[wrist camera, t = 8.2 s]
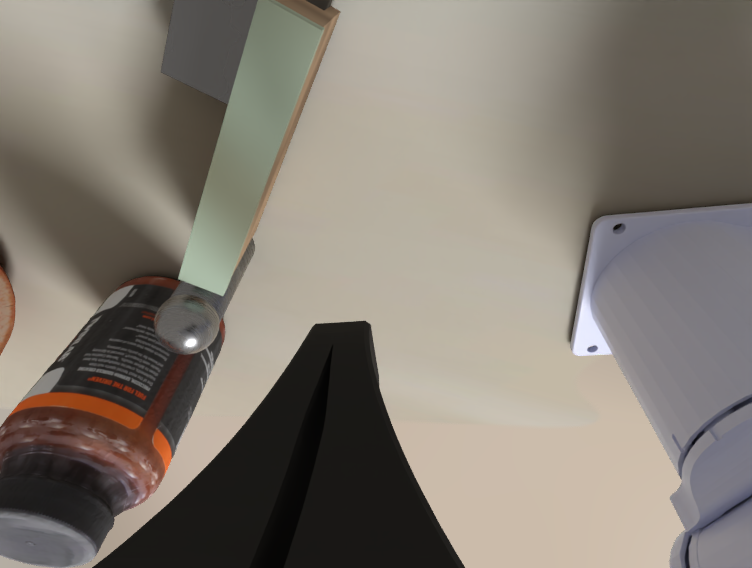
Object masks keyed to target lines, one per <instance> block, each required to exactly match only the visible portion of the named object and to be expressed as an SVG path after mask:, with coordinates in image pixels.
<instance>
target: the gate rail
mask: <svg viewBox="0 0 752 568" xmlns="http://www.w3.org/2000/svg"><path fill="white" fill-rule="evenodd" d="M331 2H332V0H258V2H257V5H256V9H255V12H254V16H253V19H252V23H251V26H250V30H249V33H248V37H247V40H246V44H245V47H244V51H243V54H242V58H241V61H240V65H239V68H238V71H237V75H236V78H235V82H234V85H233V89H232V92H231V96H230V99H229V103H228V106H227V110H226V113H225V117H224V120H223V124H222V127H221V131H220V134H219V138H218V141H217V145H216V148H215V152H214V155H213V159H212V162H211V166H210V169H209V172H208V176H207V179H206V183H205V186H204V190H203V193H202V197H201V200H200V204H199V207H198V211H197V214H196V218H195V221H194V225H193V228H192V232H191V235H190V239H189V242H188V246H187V249H186V253H185V256H184V260H183V263H182V266H181V270H180V273H179V277H178V279H179V280H182V281H185V282H187V283H190V284H192V285H195V286H198V287H200V288H203V289H205V290H208V291H211V292H213V293H216V294H218V295H221V296H224V294H225V292H226V290H227V288H228V285H229V282H230V280H231V277H232V275H233V273H234V271H235V269H236V268H237V266H238V264H239V262H240V260H241V258H242V256H243V254H244V252H245V250H246V248H247V247H248V245H249V243H250V241H251V239H252V237H253V235H254V233H255V231H256V229H257V227H258V224H259V221H260V219H261V216H262V214H263V211H264V209H265V206H266V203H267V201H268V198H269V196H270V193H271V190H272V188H273V185H274V183H275V180H276V177H277V175H278V172H279V170H280V167H281V164H282V162H283V159H284V157H285V154H286V152H287V149H288V146H289V144H290V141H291V139H292V136H293V133H294V131H295V128H296V126H297V123H298V120H299V118H300V115H301V113H302V110H303V107H304V105H305V102H306V100H307V97H308V95H309V92H310V89H311V87H312V84H313V82H314V79H315V76H316V74H317V71H318V69H319V66H320V63H321V61H322V58H323V56H324V53H325V50H326V48H327V45H328V43H329V40H330V38H331V35H332V32H333V30H334V27H335V25H336V22H337V19H338V17H339V14H340V11H339V10H337V9H335V8H333V7H332V6H331Z"/></svg>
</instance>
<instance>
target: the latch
mask: <svg viewBox="0 0 752 568" xmlns="http://www.w3.org/2000/svg"><path fill="white" fill-rule="evenodd" d="M257 2H258V0H174V4H173V10H172V15H171V20H170V26H169V31H168V36H167V42H166V47H165V52H164V58H163V63H162V68H161V73H164V74H166V75H168V76H170V77H172V78H174V79H176V80H178V81H180V82H182V83H184V84H186V85H188V86H190V87H192V88H195V89H197V90H199V91H201V92H203V93H205V94H207V95H209V96H211V97H213V98H215V99H217V100H219V101H221V102H223V103H226V104H228V103H229V99H230V96H231V92H232V89H233V85H234V82H235V78H236V75H237V71H238V68H239V65H240V61H241V58H242V54H243V51H244V47H245V44H246V40H247V37H248V33H249V30H250V26H251V23H252V19H253V16H254V12H255V9H256V5H257Z"/></svg>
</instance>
